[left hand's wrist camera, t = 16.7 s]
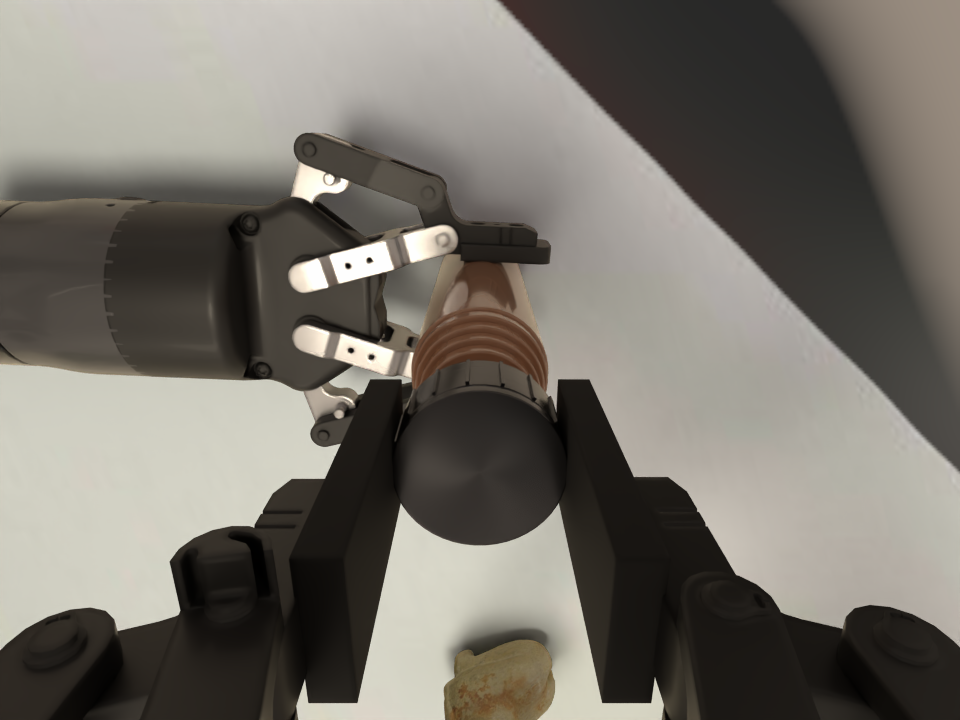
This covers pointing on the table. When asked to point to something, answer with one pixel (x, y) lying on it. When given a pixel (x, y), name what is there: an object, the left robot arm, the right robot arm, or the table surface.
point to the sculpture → (501, 683)
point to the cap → (479, 454)
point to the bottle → (479, 321)
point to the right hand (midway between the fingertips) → (541, 306)
